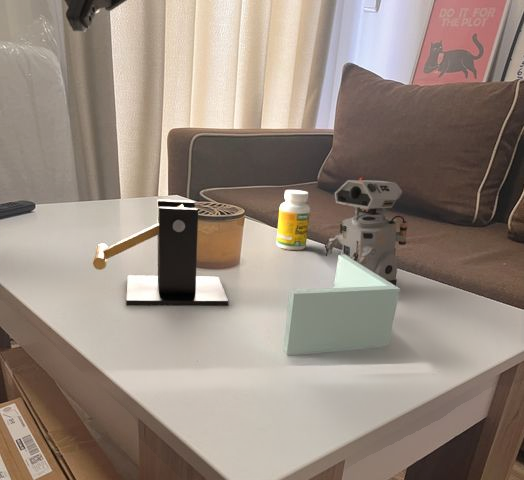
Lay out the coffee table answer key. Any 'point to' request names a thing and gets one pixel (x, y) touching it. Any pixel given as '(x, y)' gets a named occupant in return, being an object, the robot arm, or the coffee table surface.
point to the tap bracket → (176, 264)
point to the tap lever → (123, 245)
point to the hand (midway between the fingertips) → (76, 25)
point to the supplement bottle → (293, 220)
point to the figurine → (370, 226)
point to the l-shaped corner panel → (341, 312)
